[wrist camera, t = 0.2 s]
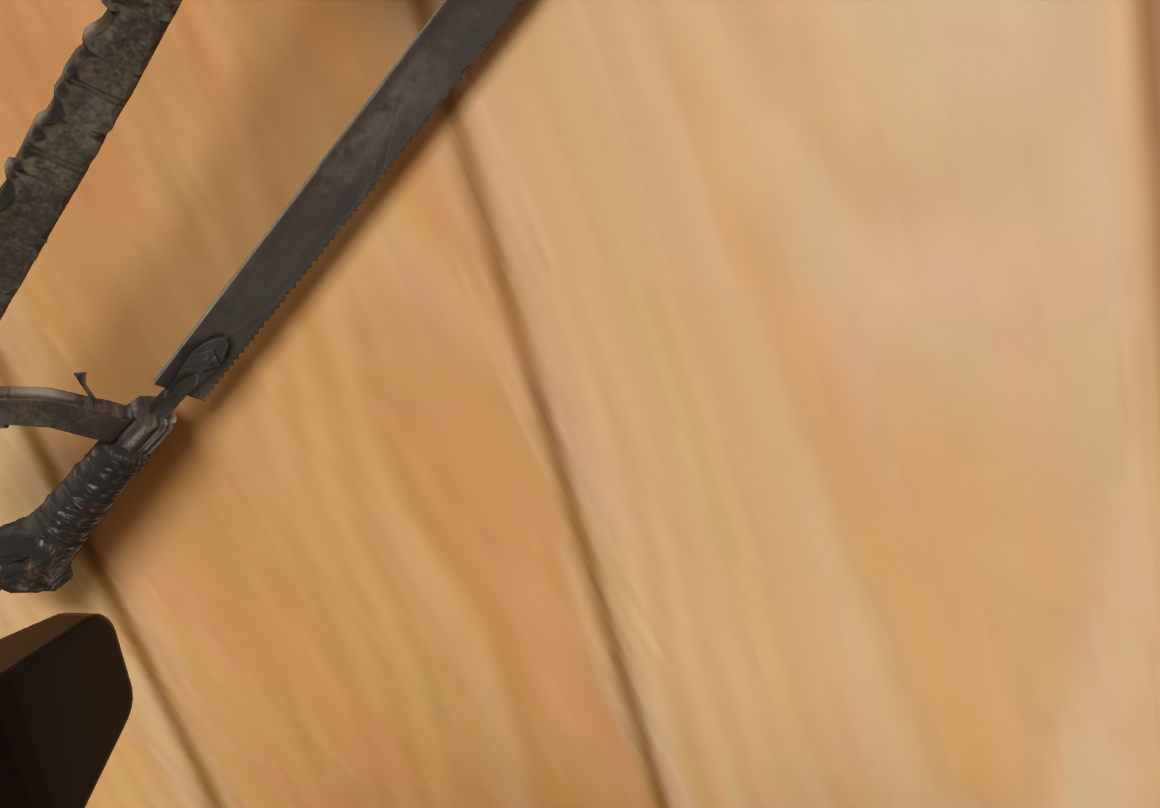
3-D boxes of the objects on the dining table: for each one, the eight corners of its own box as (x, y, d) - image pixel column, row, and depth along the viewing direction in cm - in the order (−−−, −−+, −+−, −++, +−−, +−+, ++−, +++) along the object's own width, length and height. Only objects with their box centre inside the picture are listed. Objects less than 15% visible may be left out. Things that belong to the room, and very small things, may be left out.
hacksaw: (59, 613, 27) (-478, 643, 19) (30, 525, 29) (-485, 517, 21) (715, -207, 18) (220, -805, 10) (629, -283, 20) (130, -867, 11)
